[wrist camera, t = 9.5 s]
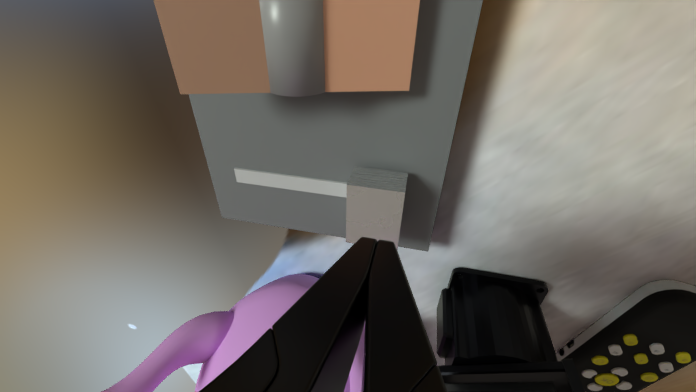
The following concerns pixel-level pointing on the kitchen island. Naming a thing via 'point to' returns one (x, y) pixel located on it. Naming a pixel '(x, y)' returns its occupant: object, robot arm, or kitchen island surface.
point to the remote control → (637, 339)
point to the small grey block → (375, 204)
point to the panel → (343, 137)
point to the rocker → (289, 45)
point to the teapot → (226, 338)
